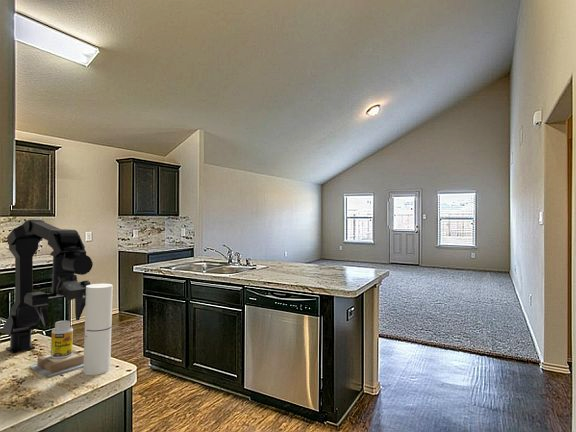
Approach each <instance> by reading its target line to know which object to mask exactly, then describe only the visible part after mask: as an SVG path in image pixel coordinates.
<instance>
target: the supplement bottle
mask: <svg viewBox="0 0 576 432" xmlns="http://www.w3.org/2000/svg"><path fill="white" fill-rule="evenodd" d="M73 335H74V327H72V326H71V320H59V321H56V322H55V323H54V328H53V329H51V342H50V354H51V357H52V358H55V359H61V358H66V357H69V356H70V355H71V354H72V351H73V343H74V342H73V337H74V336H73Z"/></svg>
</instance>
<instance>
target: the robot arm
mask: <svg viewBox="0 0 576 432" xmlns="http://www.w3.org/2000/svg"><path fill="white" fill-rule="evenodd" d="M42 240H46V241H47V245H48V246H49V247H50V248H51V249H52V250H53V251H51V253H50V254H49V255H50V256H52V274H50V275H49V276H50V279H51V281H52V283H51V287H50V288H49V293H46V292H43V291H34V283H33V282H34V278H33V277H34V275H33V274H34V273H33V272H34V271H33V269H34V266H33V265H34V263H33V261H34V259H33V258H34V255H35V254H36V253H37V251H38V250H39V243H40V242H41V241H42ZM7 244H8V250H9V252H10V253H11V254H12V256H13V257H14V263H15V264H14V265H15V270H14V271H15V274H14V275H15V284H14V285H15V300H14V301H15V302H14V303H13V304H12V305H11V308H9V313H8V314H9V315H8V318H7V319H6V320H5V322H4V324H3V326H2V329H3V333H4V334H6V335H8V336H9V335H10V338H9V339H10V340H9V341H10V342H9V344H10V345H9V347H5V350H6V351H8V352H9V353H11V354H17V353H20V352H21V353H22V352H26V351H30V350H33V349H36V346H34V345H33V344H32V331H33V330H38V329H39V326H40V321H41V323H42V325H43V327H45V328H47V327H48V323H49V321H48V318H49V317H48V309H49V307H50V304H49V303H48V302H49V301H50V300H51V301H52V300H57V299H63V298H64V299H65V300H67V301H72V300H74V306H75V308H74V309H75V311H74V312H75V313H74V315H75V320H76V321H80V318H81V316H82V314H83V311H84V310H85V303H86V286H87V285H91V282H90V281H89V280H88V279H87V280H82V281H78V277H77V275H80V276H81V275H82V276H84V275H86V274H88V273H90V272H91V270H92V268H93V264H94V263H93V261H92V258H91V257H90V256H88V255H87V251H86V249H85V247H86V246H85V244H84V241H82V238H81V235H80V234H79V232H78V231H77V230H76V229H67V228H64V229H62V228H59V227H56V226H54V225H52V224H50V223H47V222H45V221H44V220H42V219H28V220H25V221H24V222H23V224H20V225H19V226H17V227H15V228H13V229H12V230H11V231H10V232H9V233H8V235H7Z"/></svg>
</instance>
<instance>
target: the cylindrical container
mask: <svg viewBox="0 0 576 432" xmlns="http://www.w3.org/2000/svg"><path fill="white" fill-rule="evenodd" d="M113 287H114V285H113V284H111V283H92V284H91V283H90V285H87V286H86V303H85V307H84V311H85V313H84V336H83V338H84V339H83V344H84V345H83V355H84V365H83V369H82V371H83V374H84V375H87V376H97V375H101V374H102V373H103V374H106V373H107V372H109V371H110V370H111V358H112V357H111V354H112V325H113V324H112V323H113V322H112V321H113V297H114V296H113V293H114V290H113V289H114V288H113ZM103 374H102V375H103Z"/></svg>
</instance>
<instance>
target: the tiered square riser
mask: <svg viewBox="0 0 576 432" xmlns="http://www.w3.org/2000/svg"><path fill="white" fill-rule="evenodd" d="M83 365H84V354H81V353H80V352H77V351H75V350H72V354H71V355H70V356H69V357H66V358H61V359H55V358H52V357H51V353H48V354H44V355H41V356H38V357H37V363H35V364H32V365H29V369H30V370H33V371H35V372H37V373H38V374H41V375H42V376H44V377H46V378H48V379H50V378H53V377H56V376H60V375H63V374H66V373H70V372H73V371H76V370H79V369H82V368H83Z"/></svg>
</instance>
